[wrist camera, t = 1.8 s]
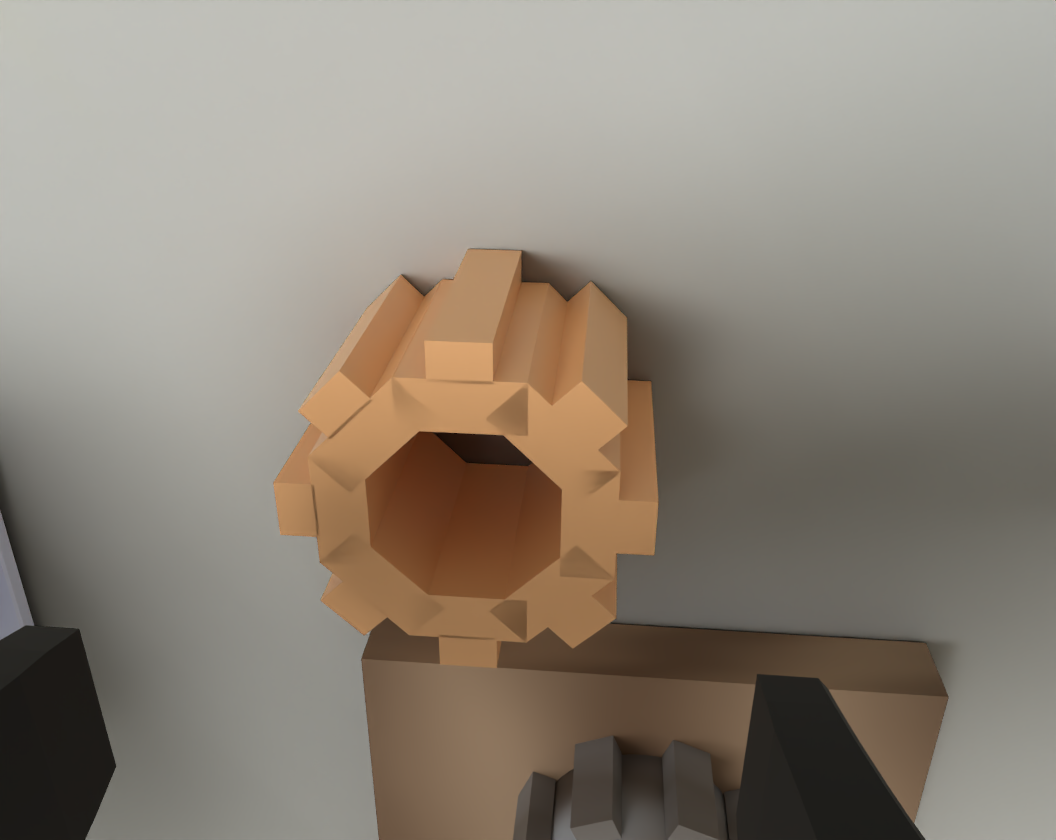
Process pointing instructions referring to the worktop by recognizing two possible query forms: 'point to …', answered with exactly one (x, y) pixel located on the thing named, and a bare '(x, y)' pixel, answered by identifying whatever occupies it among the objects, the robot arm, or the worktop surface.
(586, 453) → the idler gear
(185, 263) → the worktop surface
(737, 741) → the gear board
